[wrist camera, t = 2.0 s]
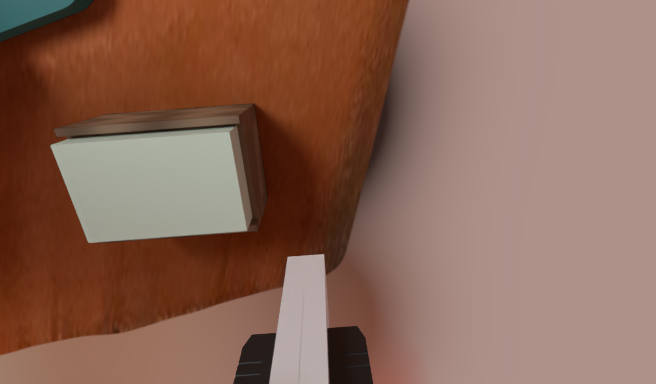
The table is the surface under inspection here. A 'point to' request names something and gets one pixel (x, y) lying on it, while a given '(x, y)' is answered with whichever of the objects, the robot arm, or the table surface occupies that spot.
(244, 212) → the lid
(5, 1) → the bracket
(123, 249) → the table surface
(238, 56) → the table surface
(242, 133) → the box
